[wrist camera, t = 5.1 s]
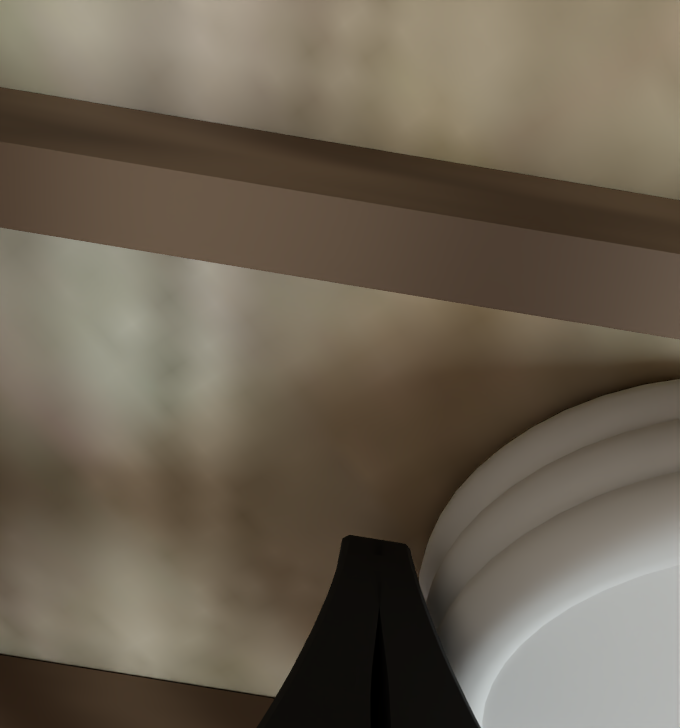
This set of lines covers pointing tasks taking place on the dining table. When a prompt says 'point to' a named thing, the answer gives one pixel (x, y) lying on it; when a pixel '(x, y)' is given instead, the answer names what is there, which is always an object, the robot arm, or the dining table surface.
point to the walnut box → (310, 275)
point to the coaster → (568, 570)
